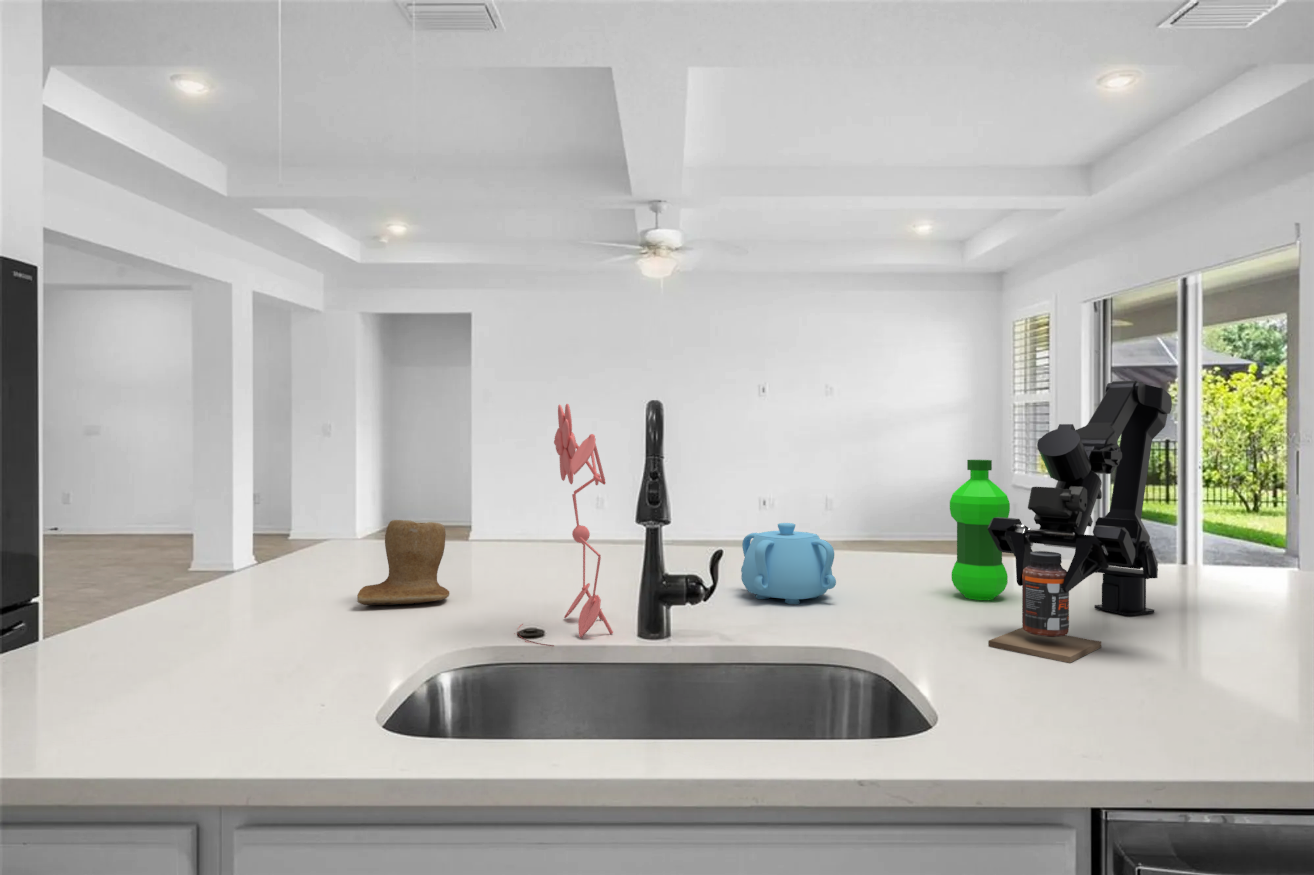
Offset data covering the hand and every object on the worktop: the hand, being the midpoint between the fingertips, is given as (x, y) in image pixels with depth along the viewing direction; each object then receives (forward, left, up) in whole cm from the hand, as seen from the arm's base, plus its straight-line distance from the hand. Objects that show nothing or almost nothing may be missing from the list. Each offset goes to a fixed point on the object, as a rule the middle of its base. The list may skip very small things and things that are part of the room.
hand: (1041, 587), depth 112 cm
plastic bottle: (-17, -29, -9) cm, 35 cm away
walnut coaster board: (-1, 0, -9) cm, 9 cm away
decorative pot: (+15, -43, -9) cm, 47 cm away
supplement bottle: (-1, 0, -7) cm, 7 cm away
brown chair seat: (+80, -66, -9) cm, 104 cm away
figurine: (+59, -36, -9) cm, 70 cm away
